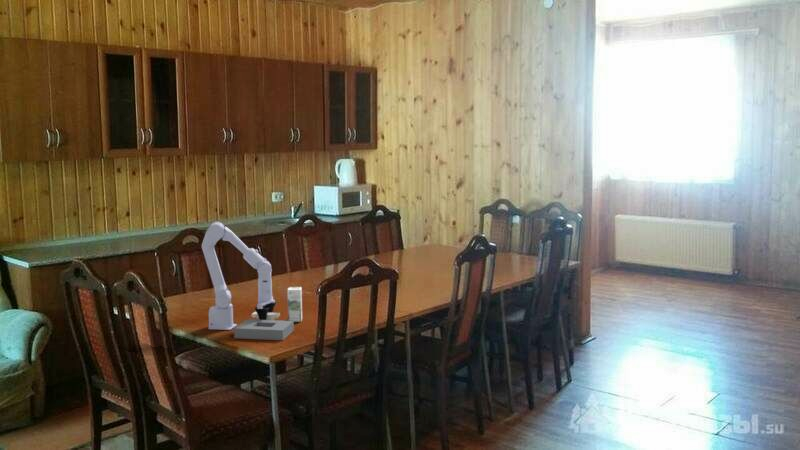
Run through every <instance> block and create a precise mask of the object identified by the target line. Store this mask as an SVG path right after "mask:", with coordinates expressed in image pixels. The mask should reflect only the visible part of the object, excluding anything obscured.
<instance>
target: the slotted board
mask: <svg viewBox="0 0 800 450" xmlns="http://www.w3.org/2000/svg"><path fill="white" fill-rule="evenodd" d="M294 323H295V322H294V321H288V320H278V319H277V320H275V319H274V320H257V318H256V319H253V318H250V319H249V318H247V319H245V320H244V321H242V322H241V323H238V324H237V325H236V326H235V327H233V330H234V332H233V335H234V337H233V338H234V339H243V340H244V339H245V340H246V339H247V340H249V339H250V340H266V341H267V340H269V341H272V340H273V341H284V340H285V339H286V338H287V337H288V336H290V334H291V333H292V332H294V330H295V329H294V326H295V324H294Z"/></svg>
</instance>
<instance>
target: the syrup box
mask: <svg viewBox="0 0 800 450" xmlns="http://www.w3.org/2000/svg"><path fill="white" fill-rule="evenodd" d="M286 292H287V321H294V323H302V321H303V288H302V286H289V287H288V288H287V291H286Z"/></svg>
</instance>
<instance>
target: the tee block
mask: <svg viewBox="0 0 800 450" xmlns="http://www.w3.org/2000/svg"><path fill="white" fill-rule="evenodd" d="M280 316H281V313H280V312H274V311H273V312H268V313H267V320H275V319H278V318H279V317H280ZM251 318H256V320H259V316H258V314H257V312H256V311H254V312H252V313H251Z"/></svg>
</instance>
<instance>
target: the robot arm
mask: <svg viewBox="0 0 800 450" xmlns="http://www.w3.org/2000/svg"><path fill="white" fill-rule="evenodd" d="M220 240H222V241H225V242H230V243H231V244H232V245H233V246H234V247H235V248H236V249H237V250H238V251H240V252H241V253H242V254H243V255H242V258H243V259H244V260H245V261H246V262H247V263H248V264H249V265H250V266H251V267H252V268H253V269H254V270H255V269H256V271H257V274H258V279H257V288H258V289H257V293H258V295H257V296H258V300H257V304H256V307H254V310H255V312H257V314H258V316H259V320H267V313H268V312H273V313H274V309H275V306H276V303H277V302H276V300H275V299H274V296H273V281H272V280H273V279H272V272H273V269H272V264H271V263H270V261H269V260H267V258H266V257H263V256H262V255H261V254H260V253H259V250H258V249H257V248H256V249H255V248H253V247H252V248H249V247H248V246H247V245H246V244H245V243H244V242H243V241H242V240H241V238H240V237H238V236H237V235H236V234H235V233H234V232H233V231H232V230H231V229H230V228H229V227H227V226H225V225H224V223H222V222H220V221H214V222H212V223H211V224H210V225H209V226H208V228H207V229H206V232H205V234H204V237H203V240H202V243H201V250H202V252H203V255H204V256H203V257H204V259H205V263H206V266H207V269H208V272H209V275H210V279H211V282H212V285H213V289H214V294H215V299H214V300H215V301H214V302H215V304H214V305H213V306H210V308H209V310H208V330H219V331H221V330H224V331H229V330H230V331H231V330H232V329H234V328H235V327H237V326H238V324H237V323H234V308H233V307H234V306H233V304H232V292H231V291H230V290H229V288H228V286H227V283H226V281H225V278H224V275H223V272H222V269H221V265H220V262H219V259H218V256H217V252H216V250H215V246H216V244H217V242H218V241H220Z"/></svg>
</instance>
